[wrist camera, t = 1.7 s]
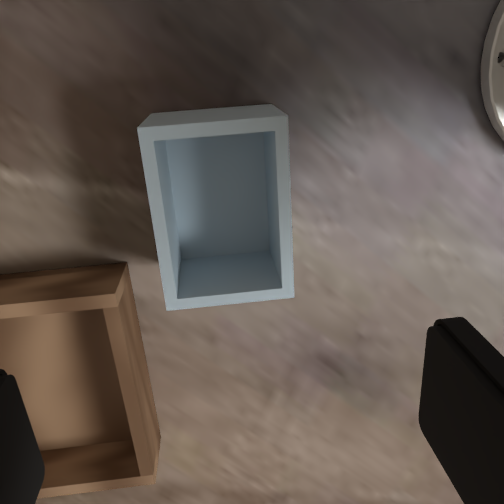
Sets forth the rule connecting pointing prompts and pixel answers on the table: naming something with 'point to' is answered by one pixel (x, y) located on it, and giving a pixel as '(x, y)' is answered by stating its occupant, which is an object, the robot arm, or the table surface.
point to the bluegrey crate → (220, 204)
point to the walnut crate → (81, 376)
